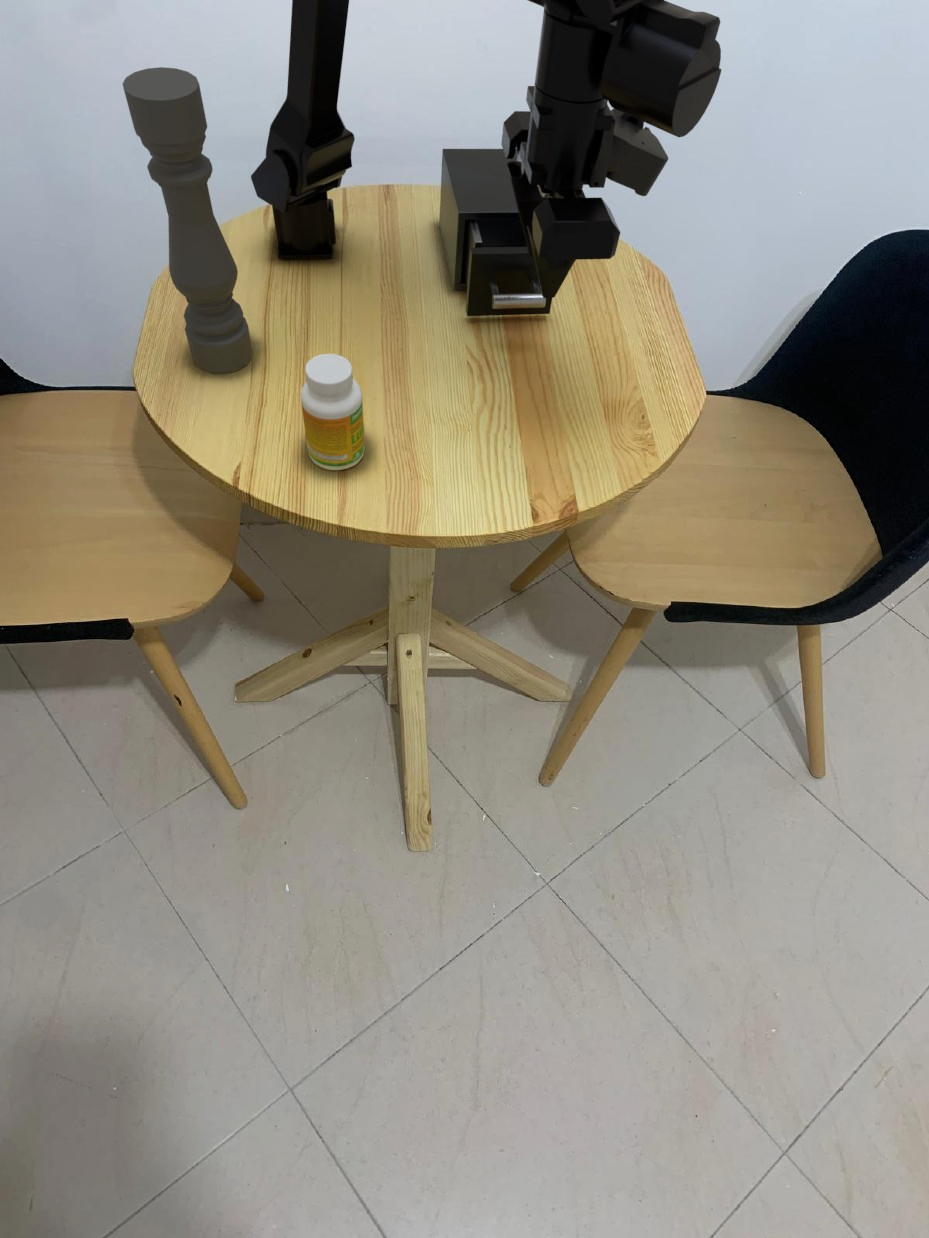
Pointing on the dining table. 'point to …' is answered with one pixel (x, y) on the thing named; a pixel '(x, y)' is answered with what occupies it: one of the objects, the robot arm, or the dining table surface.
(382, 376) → the dining table surface
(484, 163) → the cabinet
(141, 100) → the candle holder
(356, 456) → the supplement bottle
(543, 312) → the drawer
